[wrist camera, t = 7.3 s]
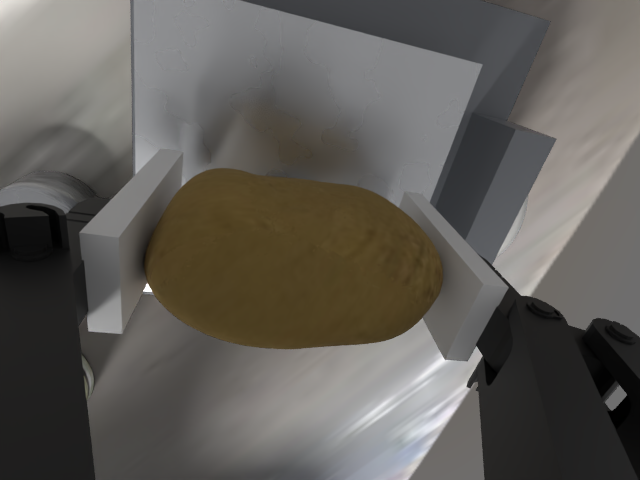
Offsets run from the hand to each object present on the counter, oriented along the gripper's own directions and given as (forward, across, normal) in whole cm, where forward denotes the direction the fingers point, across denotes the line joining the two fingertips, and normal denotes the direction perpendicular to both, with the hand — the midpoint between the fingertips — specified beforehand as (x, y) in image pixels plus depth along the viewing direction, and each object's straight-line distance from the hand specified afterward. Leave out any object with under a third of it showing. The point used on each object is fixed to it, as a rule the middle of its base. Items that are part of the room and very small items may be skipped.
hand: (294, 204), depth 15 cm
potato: (0, 0, 0) cm, 1 cm away
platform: (+3, 0, 0) cm, 3 cm away
